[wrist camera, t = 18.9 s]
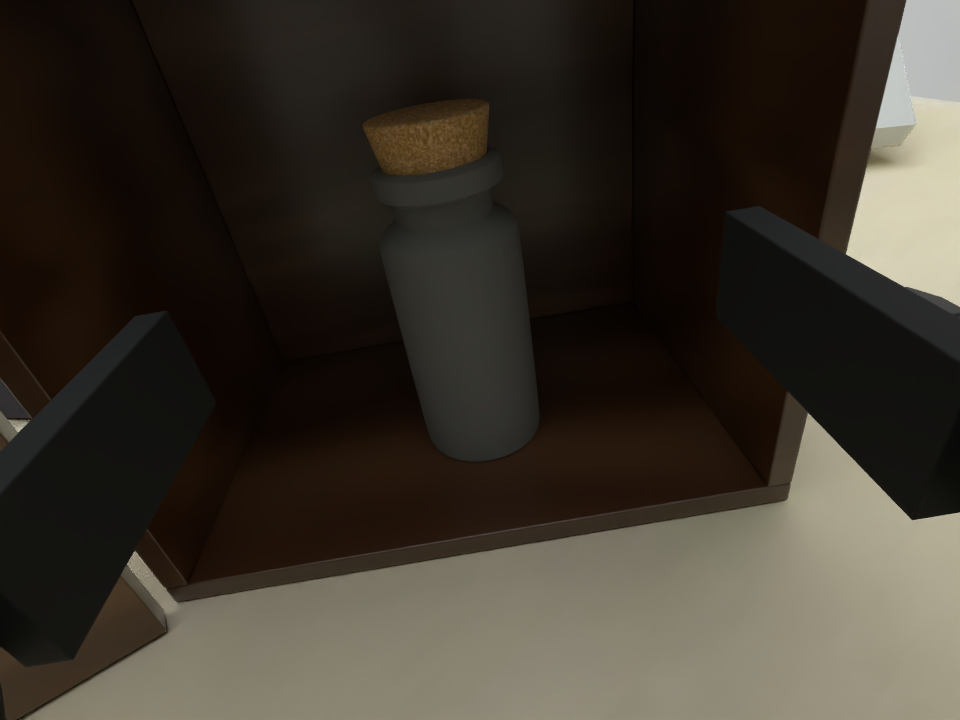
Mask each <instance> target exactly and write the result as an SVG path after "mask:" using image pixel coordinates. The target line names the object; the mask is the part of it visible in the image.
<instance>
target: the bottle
mask: <svg viewBox="0 0 960 720" xmlns="http://www.w3.org/2000/svg"><path fill="white" fill-rule="evenodd" d="M488 120H489V103H488V101H486V100H482V99H454V100H445V101H439V102H432V103H425V104H420V105H415V106H411V107H406V108H401V109H397V110H394V111H390V112H387V113H384V114H381V115H378V116H375V117H372V118H370V119H368V120H367V121H365V122H364V123H363V129H364V132H365V134H366V136H367V138H368V141H369V143H370V145H371V147H372V149H373V152H374V154H375V156H376V158H377V160H378V163H379V165H380V167H379V168H377V169H376V170H375V171H374V172H373V173H372V175H371V183H372V187H373V190H374V194H375V197H376V199H377V201H379V202H380V203H382V204H384V205H387V206H393V210H394V214H395V220H394V221H393V222H392V223H391V224H390V225H389V226H388V227H387V228H386V229H385V231H384V232H383V234H382V236H381V238H380V240H379V247H380V252H381V257H382V261H383V265H384V269H385V273H386V277H387V280H388V284H389V288H390V292H391V296H392V300H393V303H394V307H395V311H396V315H397V319H398V322H399V326H400V330H401V334H402V337H403V341H404V345H405V349H406V352H407V356H408V360H409V364H410V367H411V371H412V375H413V379H414V382H415V386H416V390H417V393H418V397H419V401H420V404H421V408H422V412H423V415H424V419H425V423H426V426H427V430H428V433H429V436H430V439H431V441H432V443H433V444H434V445H435V447H436V448H437V449H438V450H439V451H440V452H442V453H443V454H445V455H447V456H448V457H451V458H454V459H457V460H461V461H468V462H482V461H490V460H494V459H498V458H503V457H505V456H508V455H510V454H512V453H514V452H516V451H517V450H519V449H521V448H522V447H523V446H524V445H526V444H527V443H528V442H529V441H530V440H531V439H532V437H533V436H534V434H535V433H536V431H537V429H538V425H539V418H540V413H539V403H538V393H537V383H536V373H535V363H534V354H533V345H532V337H531V328H530V319H529V310H528V301H527V292H526V283H525V275H524V266H523V258H522V250H521V242H520V235H519V227H518V221H517V218H516V216H515V215H514V214H513V213H512V212H511V211H510V210H509V209H507V208H506V207H504V206H503V205H501V204H498V203H496V202H493V200H492V196H491V188H492V187H494V186H495V185H497V184H498V183H499V182H500V181H501V179H502V178H503V166H502V159H501V154H500V152H499V151H498V150H496V149H494V148H491V147H487V138H488Z"/></svg>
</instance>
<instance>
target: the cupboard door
mask: <svg viewBox="0 0 960 720" xmlns="http://www.w3.org/2000/svg"><path fill="white" fill-rule="evenodd" d="M17 434H18V432H17V431H16V430H15V428H14V427H13V426H12V425H11V423H10V422H9V421H8V420H7V419H6V417H5V416H4V415H3V414H2V412H1V411H0V451H1V450H2V449H3V448H4V447H5V446H6V445H7V444H8V443H9V442H10V441H11V440H12V439H13V438H14V437H15V436H16V435H17ZM166 631H167V629H166V623H165V617H164V612H163V609H162V608H161V606H160V605H159V604H158V603H157V601H156V600H155V599H154V598H153V597H152V595H151V594H150V593H149V592H148V590H147V589H146V588H145V587H144V586H143V584H142V583H141V582H140V581H139V579H138V578H137V577H136V576H135V575H134V573H133V572H132V571H131V570H130V569H129V567H128V566H127V565H126V567H125V568H124V570H123V572H122V574H121V576H120V577H119V579H118V581H117V583H116V585H115V586H114V588H113V590H112V592H111V593H110V595H109V597H108V599H107V601H106V602H105V604H104V606H103V608H102V610H101V611H100V613H99V615H98V617H97V618H96V620H95V622H94V624H93V626H92V627H91V629H90V631H89V633H88V635H87V636H86V638H85V640H84V642H83V644H82V645H81V647H80V649H79V651H78V652H77V654H76V656H75V658H74V660H68V661H62V662H56V663H50V664H44V665H38V666H32V667H25V666H23V665H22V664H21V663H20V662H19V661H17V660H16V659H15V658H14V657H13V656H11V655H10V654H9V653H8V652H7V651H5V650H4V649H3V648H2V647H1V648H0V683H1V688H2V694H3V700H4V707H5V713H6V720H17V719H19V718H20V717H22V716H24V715H25V714H27V713H29V712H30V711H32V710H34V709H35V708H37V707H39V706H41V705H42V704H44V703H46V702H47V701H49V700H51V699H52V698H54V697H56V696H57V695H59V694H61V693H63V692H64V691H66V690H68V689H69V688H71V687H73V686H74V685H76V684H78V683H79V682H81V681H83V680H85V679H86V678H88V677H90V676H91V675H93V674H95V673H96V672H98V671H100V670H101V669H103V668H105V667H107V666H108V665H110V664H112V663H113V662H115V661H117V660H118V659H120V658H122V657H123V656H125V655H127V654H129V653H130V652H132V651H134V650H135V649H137V648H139V647H140V646H142V645H144V644H145V643H147V642H149V641H151V640H152V639H154V638H156V637H157V636H159V635H161V634H162V633H164V632H166Z"/></svg>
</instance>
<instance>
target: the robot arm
mask: <svg viewBox="0 0 960 720" xmlns="http://www.w3.org/2000/svg"><path fill="white" fill-rule="evenodd" d="M715 317H716V318H717V319H718V320H719V321H720V322H721V323H722V324H723V325H724V326H725V327H726V328H727V329H728V330H729V331H730V332H731V333H732V334H733V335H734V336H735V337H736V338H737V339H738V340H739V342H740V343H741V344H742V345H743V346H744V347H745V348H746V349H747V350H748V351H749V352H750V353H751V354H752V355H753V356H754V357H755V358H756V359H757V360H758V361H759V362H760V363H761V364H762V365H763V366H764V367H765V368H766V369H767V370H768V372H769V373H770V374H771V375H772V376H773V377H774V378H775V379H776V380H777V381H778V382H779V383H780V384H781V385H782V386H783V387H784V388H785V389H786V390H787V391H788V392H789V393H790V394H791V395H792V396H793V397H794V398H795V399H796V400H797V401H798V403H799V404H800V405H801V406H802V407H803V408H804V409H805V410H806V411H807V412H808V413H809V414H810V415H811V416H812V417H813V418H814V419H815V420H816V421H817V422H818V423H819V424H820V425H821V426H822V427H823V428H824V429H825V430H826V431H827V433H828V434H829V435H830V436H831V437H832V438H833V439H834V440H835V441H836V442H837V443H838V444H839V445H840V446H841V447H842V448H843V449H844V450H845V451H846V452H847V453H848V454H849V455H850V456H851V457H852V458H853V459H854V460H855V461H856V463H857V464H858V465H859V466H860V467H861V468H862V469H863V470H864V471H865V472H866V473H867V474H868V475H869V476H870V477H871V478H872V479H873V480H874V481H875V482H876V483H877V484H878V485H879V486H880V487H881V488H882V489H883V490H884V491H885V492H886V494H887V495H888V496H889V497H890V498H891V499H892V500H893V501H894V502H895V503H896V504H897V505H898V506H899V507H900V508H901V509H902V510H903V511H904V512H905V513H906V514H907V515H908V516H909V517H910V518H911V519H912V520H916V519H922V518H928V517H934V516H940V515H946V514H952V513H958V512H960V307H959V306H957V305H955V304H953V303H951V302H949V301H947V300H946V299H944V298H942V297H939V296H935V295H932V294H929V293H926V292H922V291H919V290H916V289H912V288H909V287H903V286H901V285H899V284H898V283H896V282H894V281H892V280H891V279H889V278H887V277H885V276H883V275H882V274H880V273H878V272H876V271H874V270H873V269H871V268H869V267H867V266H866V265H864V264H862V263H860V262H858V261H857V260H855V259H853V258H851V257H849V256H848V255H846V254H844V253H842V252H841V251H839V250H837V249H835V248H833V247H832V246H830V245H828V244H826V243H825V242H823V241H821V240H819V239H817V238H816V237H814V236H812V235H810V234H808V233H807V232H805V231H803V230H801V229H800V228H798V227H796V226H794V225H792V224H791V223H789V222H787V221H785V220H783V219H782V218H780V217H778V216H776V215H775V214H773V213H771V212H769V211H767V210H766V209H764V208H762V207H760V206H755V207H750V208H744V209H738V210H733V211H727V212H726V215H725V225H724V235H723V245H722V255H721V265H720V275H719V285H718V295H717V305H716V315H715ZM216 404H217V402H216V401H215V399H214V397H213V395H212V393H211V391H210V389H209V387H208V386H207V384H206V382H205V380H204V378H203V376H202V374H201V373H200V371H199V369H198V367H197V365H196V363H195V361H194V360H193V358H192V356H191V354H190V352H189V350H188V348H187V347H186V345H185V343H184V341H183V339H182V337H181V335H180V334H179V332H178V330H177V328H176V326H175V324H174V322H173V321H172V319H171V317H170V315H169V313H168V311H162V312H156V313H151V314H145V315H139V316H135V317H134V318H133V319H132V320H131V321H130V322H129V323H128V324H127V325H126V326H125V327H124V328H123V329H122V330H121V331H120V332H119V333H118V334H117V335H116V336H115V337H114V338H113V339H112V340H111V341H110V342H109V343H108V344H107V345H106V346H105V347H104V348H103V349H102V350H101V351H100V352H99V353H98V354H97V355H96V356H95V357H94V358H93V359H92V360H91V361H90V362H89V363H88V364H87V365H86V366H85V367H84V368H83V369H82V370H81V371H80V372H79V373H78V374H77V375H76V376H75V377H74V378H73V379H72V380H71V381H70V382H69V383H68V384H67V385H66V386H65V387H64V388H63V389H62V390H61V391H60V392H59V393H58V394H57V395H56V396H55V397H54V398H53V399H52V400H51V401H50V402H49V403H48V404H47V405H46V406H45V407H44V408H43V409H42V410H41V411H40V412H39V413H38V414H37V415H36V416H35V417H34V418H33V419H32V420H31V421H30V422H29V423H28V424H27V425H26V426H25V427H24V428H23V429H22V430H21V431H20V432H19V433H18V434H17V435H16V436H15V437H14V438H13V439H12V440H11V441H10V442H9V443H8V444H7V445H6V446H5V447H4V448H3V449H2V450H1V451H0V648H1V647H2V648H3V649H4V650H5V651H7V652H8V653H9V654H10V655H11V656H13V657H14V658H15V659H16V660H17V661H19V662H20V663H21V664H22V665H23V666H25V667H32V666H38V665H44V664H50V663H56V662H62V661H68V660H74V658H75V656H76V654H77V652H78V651H79V649H80V647H81V645H82V644H83V642H84V640H85V638H86V636H87V635H88V633H89V631H90V629H91V627H92V626H93V624H94V622H95V620H96V618H97V617H98V615H99V613H100V611H101V610H102V608H103V606H104V604H105V602H106V601H107V599H108V597H109V595H110V593H111V592H112V590H113V588H114V586H115V585H116V583H117V581H118V579H119V577H120V576H121V574H122V572H123V570H124V568H125V567H126V565H127V563H128V561H129V559H130V558H131V556H132V554H133V552H134V551H135V549H136V547H137V545H138V543H139V542H140V540H141V538H142V536H143V534H144V533H145V531H146V529H147V527H148V525H149V524H150V522H151V520H152V518H153V517H154V515H155V513H156V511H157V509H158V508H159V506H160V504H161V502H162V500H163V499H164V497H165V495H166V493H167V491H168V490H169V488H170V486H171V484H172V483H173V481H174V479H175V477H176V475H177V474H178V472H179V470H180V468H181V466H182V465H183V463H184V461H185V459H186V458H187V456H188V454H189V452H190V450H191V449H192V447H193V445H194V443H195V441H196V440H197V438H198V436H199V434H200V432H201V431H202V429H203V427H204V425H205V424H206V422H207V420H208V418H209V416H210V415H211V413H212V411H213V409H214V407H215V406H216ZM0 720H6V713H5V707H4V700H3V694H2V688H1V683H0Z"/></svg>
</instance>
